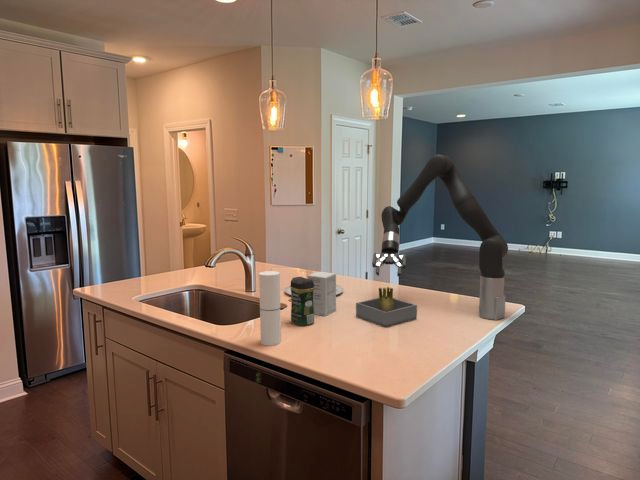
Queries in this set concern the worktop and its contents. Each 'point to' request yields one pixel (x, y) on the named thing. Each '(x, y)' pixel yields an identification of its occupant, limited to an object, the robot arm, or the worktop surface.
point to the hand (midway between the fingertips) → (388, 275)
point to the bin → (386, 319)
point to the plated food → (338, 290)
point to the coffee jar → (302, 301)
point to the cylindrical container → (270, 308)
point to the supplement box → (324, 292)
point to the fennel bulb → (386, 300)
